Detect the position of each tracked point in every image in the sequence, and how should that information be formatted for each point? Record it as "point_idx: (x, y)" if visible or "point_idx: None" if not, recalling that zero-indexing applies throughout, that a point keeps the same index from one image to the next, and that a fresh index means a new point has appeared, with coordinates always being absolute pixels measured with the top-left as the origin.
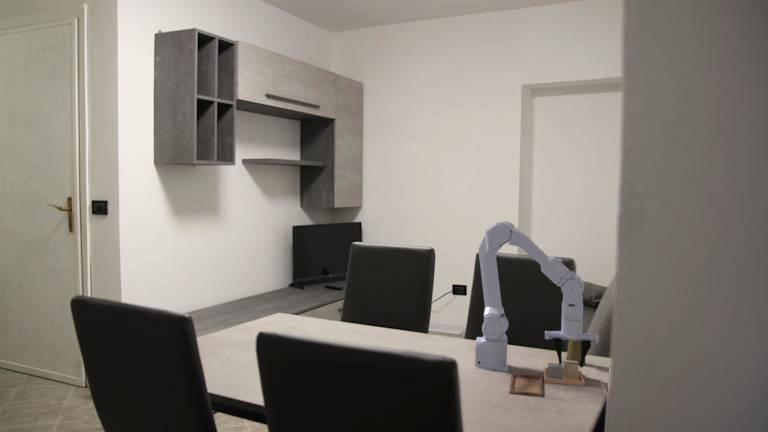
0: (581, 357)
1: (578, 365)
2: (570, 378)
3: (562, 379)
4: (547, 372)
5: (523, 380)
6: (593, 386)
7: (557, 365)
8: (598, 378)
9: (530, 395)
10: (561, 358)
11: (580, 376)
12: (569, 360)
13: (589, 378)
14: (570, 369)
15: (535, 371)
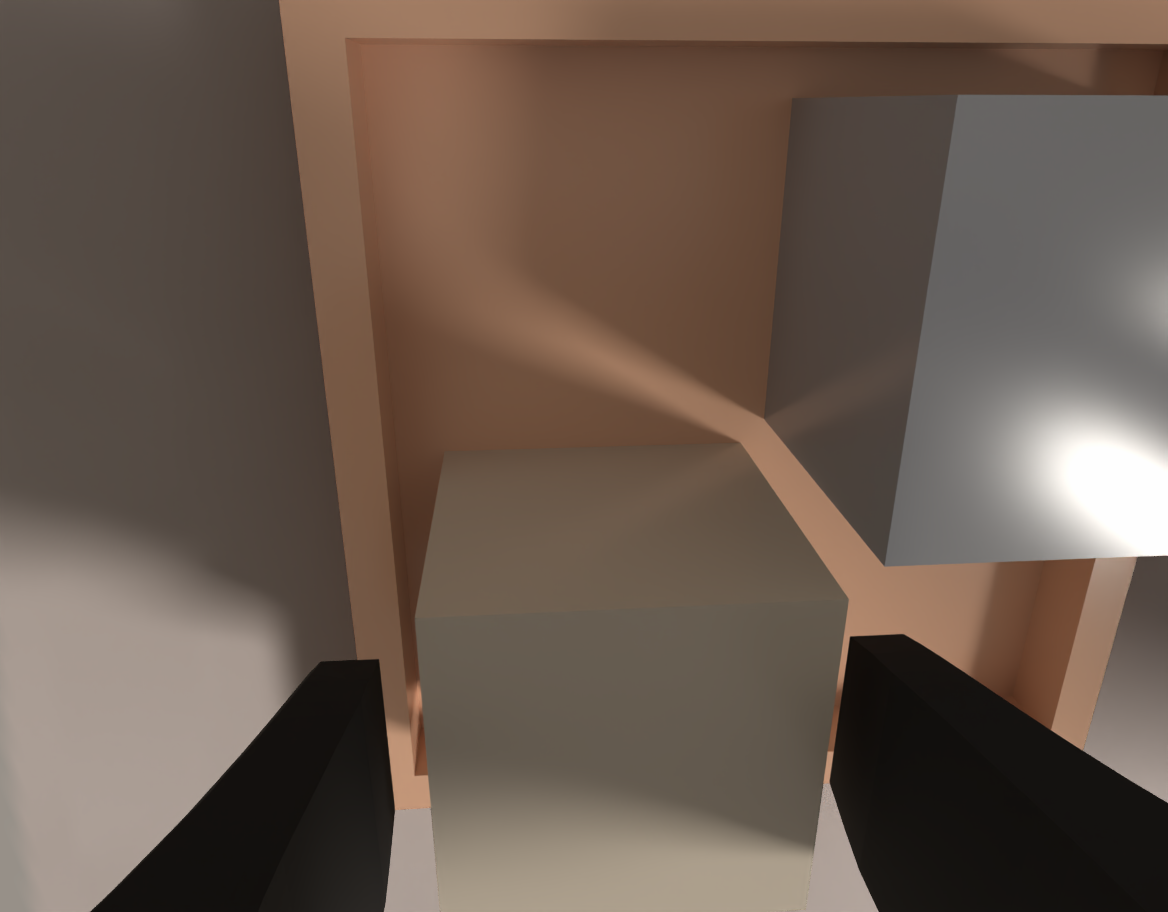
0: (278, 850)
1: (419, 615)
2: (600, 445)
3: (843, 39)
4: (991, 648)
5: None
6: (115, 175)
7: (1083, 362)
8: (78, 712)
9: None
10: (970, 742)
11: (393, 510)
12: None
13: (239, 659)
14: (629, 537)
15: (1144, 703)
